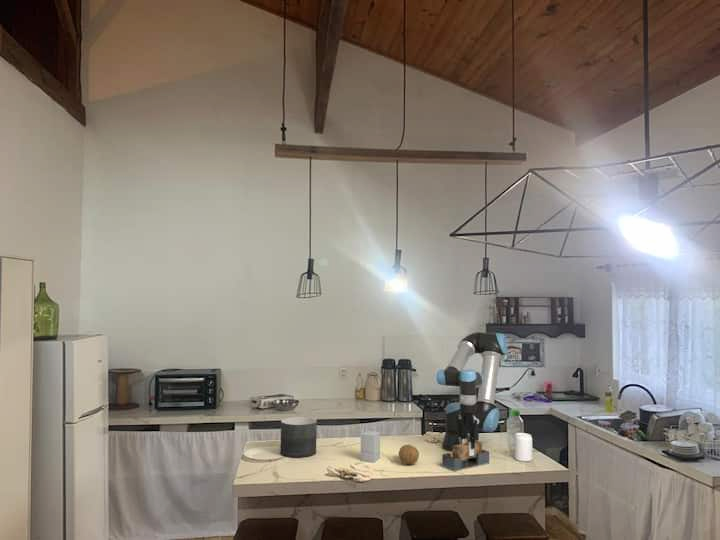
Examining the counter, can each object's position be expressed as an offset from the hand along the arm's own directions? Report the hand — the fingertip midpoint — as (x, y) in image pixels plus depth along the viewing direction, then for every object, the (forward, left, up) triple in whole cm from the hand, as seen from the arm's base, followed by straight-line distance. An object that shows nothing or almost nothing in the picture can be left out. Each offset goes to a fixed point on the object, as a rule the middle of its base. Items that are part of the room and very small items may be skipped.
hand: (467, 454), depth 247 cm
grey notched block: (0, -1, -5) cm, 5 cm away
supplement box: (-31, -34, -5) cm, 46 cm away
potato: (-17, -22, -5) cm, 28 cm away
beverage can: (+8, +29, -5) cm, 31 cm away
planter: (-59, -58, -5) cm, 83 cm away
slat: (0, 0, -1) cm, 1 cm away
